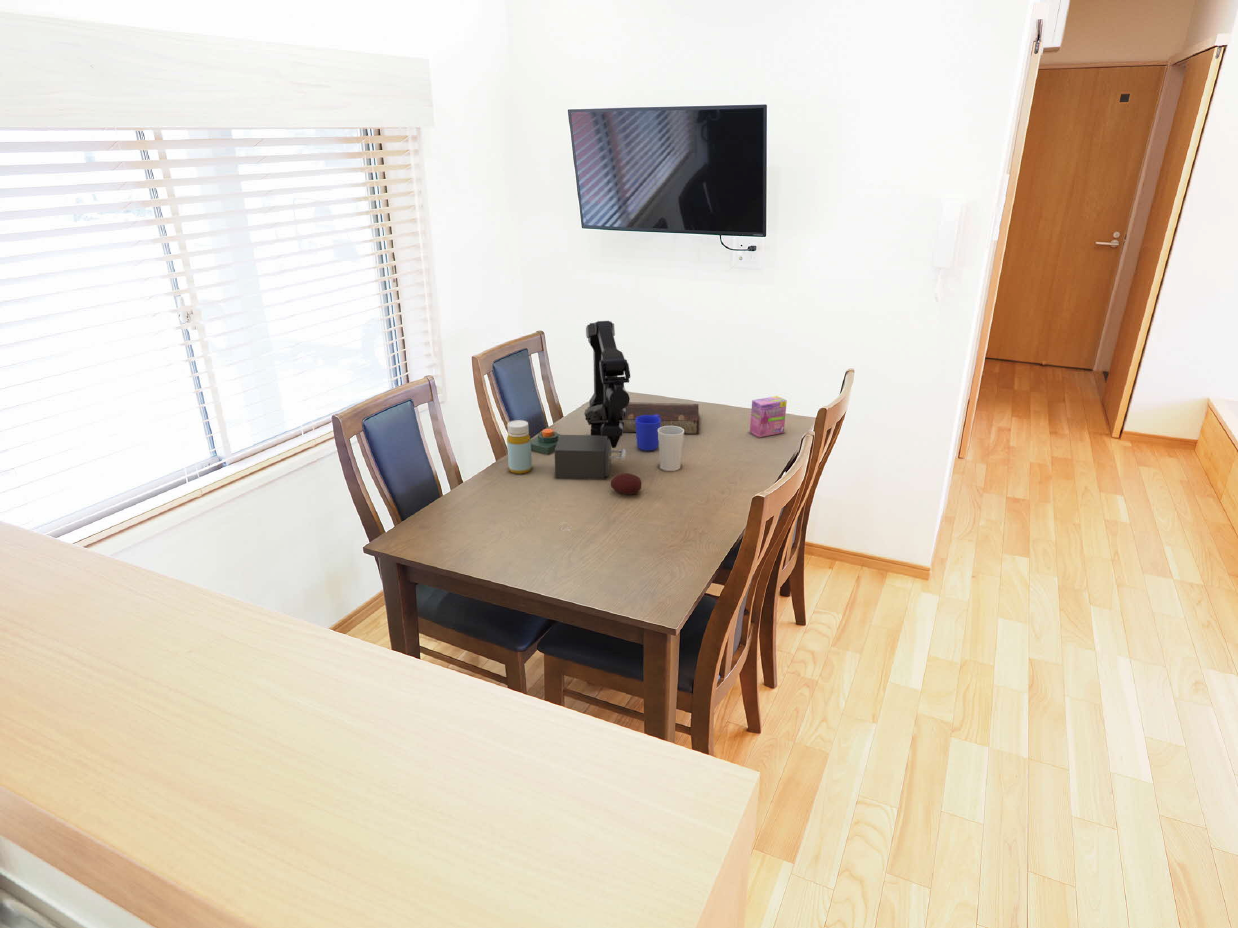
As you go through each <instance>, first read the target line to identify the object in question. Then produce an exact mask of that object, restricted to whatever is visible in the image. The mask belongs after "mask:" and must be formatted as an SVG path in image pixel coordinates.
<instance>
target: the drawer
mask: <svg viewBox="0 0 1238 928" xmlns="http://www.w3.org/2000/svg"><path fill="white" fill-rule="evenodd" d="M612 453H613V454H614V453H617V454H618V453H619V454H620V456H612ZM626 454H627V450H626V449H625V448H622V449H620V450H619V449H612V446H611V442H610V439H607V443H606V447H605V452H604V475H605V477H609V476H610V470H611V465H612V460H620V461H622V462H623V461H625V460H626Z"/></svg>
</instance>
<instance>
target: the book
mask: <svg viewBox="0 0 1238 928" xmlns="http://www.w3.org/2000/svg"><path fill="white" fill-rule="evenodd" d="M625 409H626V416H625V418H623V421H621V422H624V428H623V433H624V432H625V433H636V423H635V419H636V418H637V417H639V416H643V415H653V416H654V415H659V418H660V419H661V425H660V427H663V426H678V427H681V428H683V429H684V434H699V429H700V428H699V427H700V416H699V415H700V414H699V409H700V408H699V403H677V402H676V403H675V402H674V403H673V402H671V403H670V402H636V401H635V402H634V401H633V402H630V401H629V404H628V405H627V406H626V407H625Z"/></svg>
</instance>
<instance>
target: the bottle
mask: <svg viewBox="0 0 1238 928" xmlns="http://www.w3.org/2000/svg"><path fill="white" fill-rule="evenodd" d="M506 427H507V437H506V447H507V462H508V470H509V472H511V473H512V474H517V475H522V474H527V473H529V472H530V471H531V470H532V469H533V461H532V460H533V459H532V450H531V440H532V439H531V436H530V431H529V429H530V428H529V421H527V420H523V419H517V420H515V419H514V420H511V421H509V422H507V426H506Z"/></svg>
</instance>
